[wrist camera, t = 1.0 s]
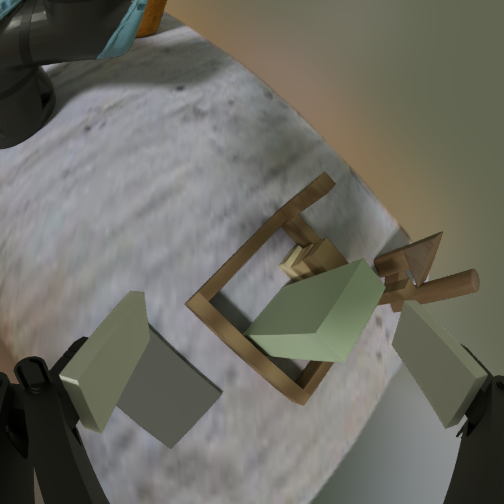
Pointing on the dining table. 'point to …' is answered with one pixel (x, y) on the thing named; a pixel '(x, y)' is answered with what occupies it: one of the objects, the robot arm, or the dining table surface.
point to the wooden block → (424, 273)
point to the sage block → (318, 315)
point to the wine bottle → (151, 17)
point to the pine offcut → (289, 261)
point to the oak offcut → (302, 264)
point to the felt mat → (165, 393)
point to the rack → (282, 218)
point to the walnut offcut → (323, 257)
